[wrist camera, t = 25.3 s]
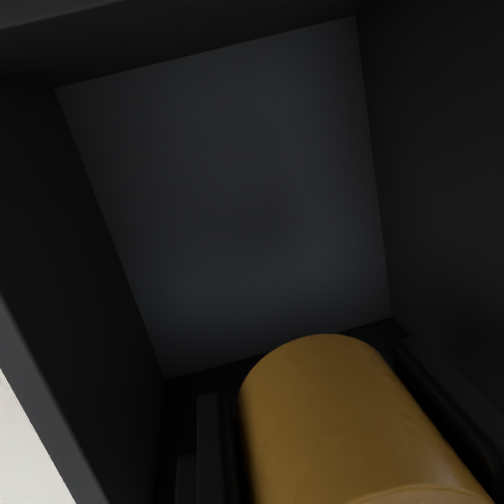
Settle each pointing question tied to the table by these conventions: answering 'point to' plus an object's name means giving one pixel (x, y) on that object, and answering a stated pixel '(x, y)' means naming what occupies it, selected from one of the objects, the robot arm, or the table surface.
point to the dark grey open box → (236, 206)
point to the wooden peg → (342, 432)
